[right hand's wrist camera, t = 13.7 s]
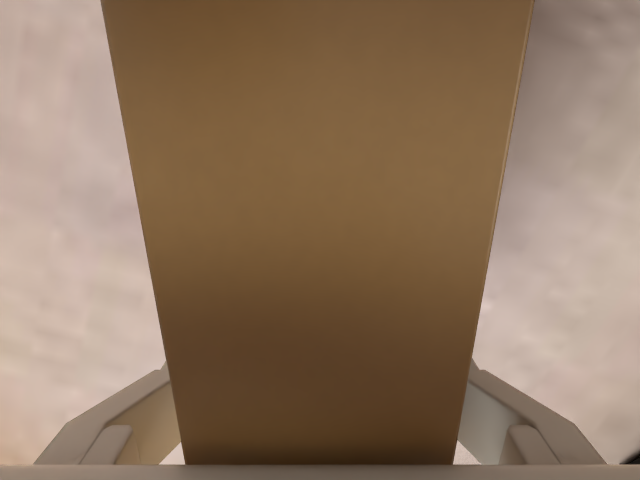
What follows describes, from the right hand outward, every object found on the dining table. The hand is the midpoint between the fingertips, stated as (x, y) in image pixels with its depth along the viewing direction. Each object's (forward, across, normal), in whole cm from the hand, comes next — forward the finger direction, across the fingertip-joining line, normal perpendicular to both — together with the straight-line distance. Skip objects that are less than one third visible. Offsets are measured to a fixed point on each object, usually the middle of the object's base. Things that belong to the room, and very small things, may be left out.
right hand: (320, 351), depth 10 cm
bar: (+5, 0, -8) cm, 9 cm away
